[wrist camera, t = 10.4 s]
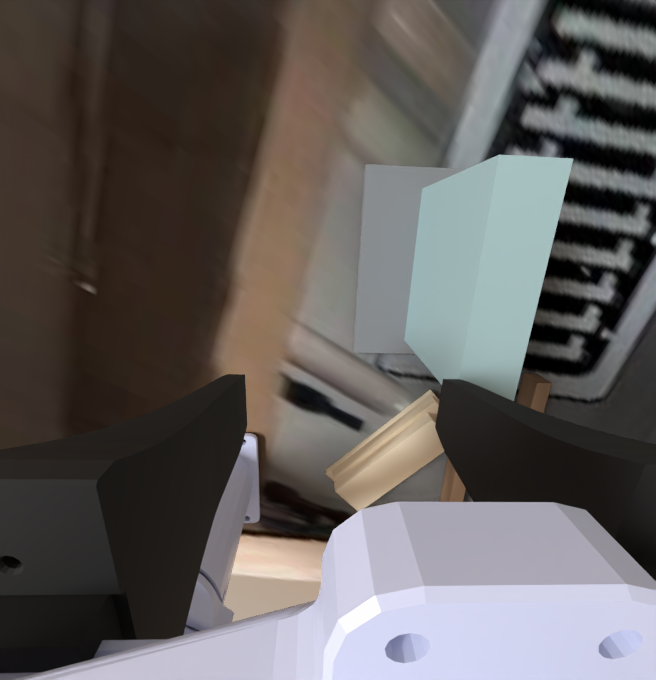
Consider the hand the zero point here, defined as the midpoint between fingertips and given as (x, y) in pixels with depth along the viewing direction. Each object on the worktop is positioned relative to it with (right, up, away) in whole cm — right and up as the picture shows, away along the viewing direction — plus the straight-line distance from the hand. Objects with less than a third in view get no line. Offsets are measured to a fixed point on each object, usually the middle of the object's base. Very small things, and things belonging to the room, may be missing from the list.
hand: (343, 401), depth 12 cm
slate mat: (+6, +7, +8) cm, 12 cm away
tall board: (+6, +7, +8) cm, 12 cm away
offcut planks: (+4, -5, +13) cm, 14 cm away
